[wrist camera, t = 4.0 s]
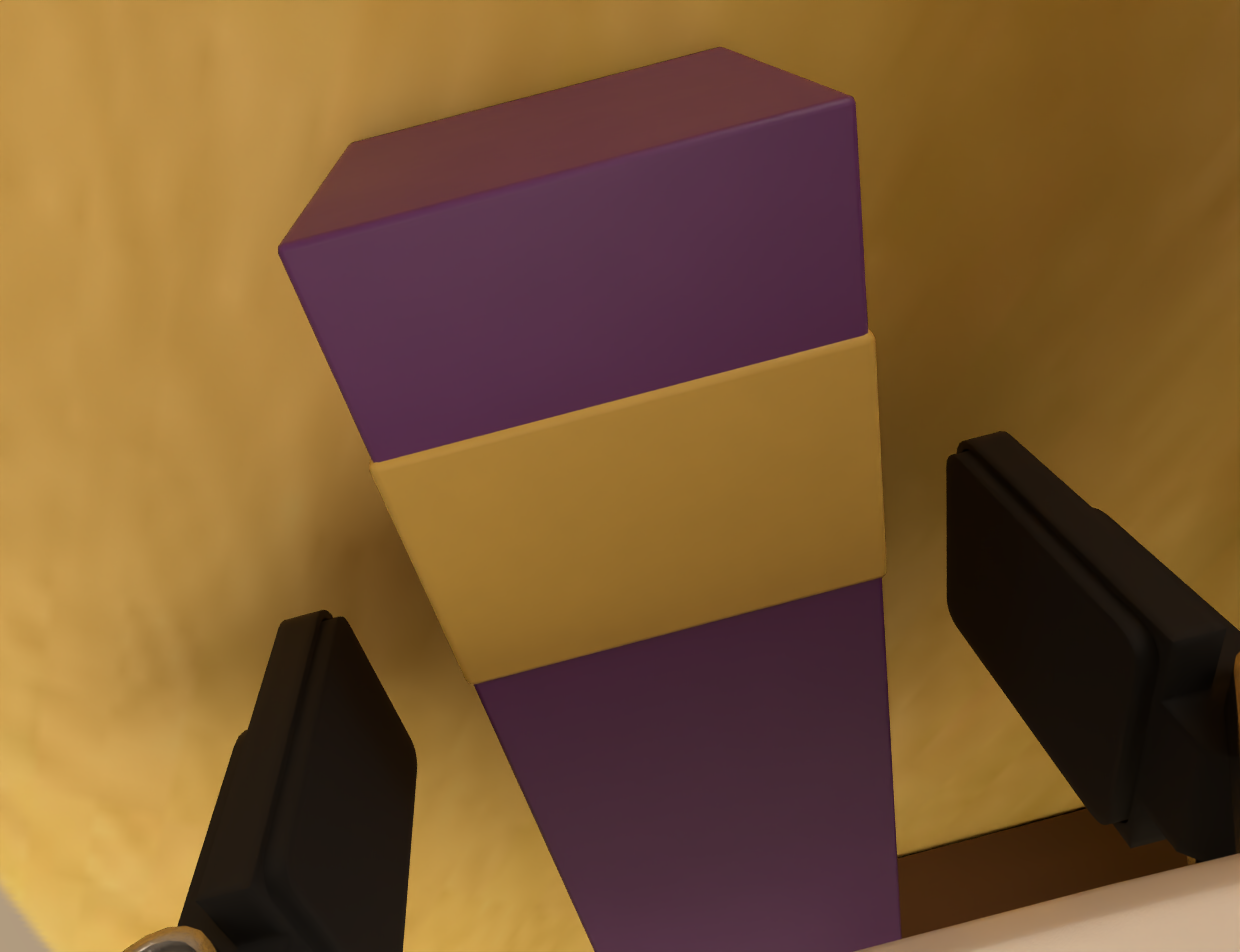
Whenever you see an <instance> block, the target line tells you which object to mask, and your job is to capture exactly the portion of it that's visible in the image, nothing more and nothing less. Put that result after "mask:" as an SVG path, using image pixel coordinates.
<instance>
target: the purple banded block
mask: <svg viewBox="0 0 1240 952" xmlns="http://www.w3.org/2000/svg"><path fill="white" fill-rule="evenodd" d="M278 254H279V256H280V259H281V261H282V263H283V265H284V267H285V270H286V272H287V274H288V276H289V278H290V281H291V283H292V285H293V287H294V289H295V292H296V294H297V296H298V298H299V300H300V303H301V305H302V307H303V309H304V311H305V314H306V316H307V318H308V320H309V323H310V325H311V327H312V329H313V331H314V334H315V336H316V338H317V340H318V342H319V345H320V347H321V349H322V351H323V353H324V356H325V358H326V360H327V362H328V364H329V367H330V369H331V371H332V373H333V375H334V378H335V380H336V382H337V384H338V386H339V389H340V391H341V393H342V395H343V398H344V400H345V402H346V404H347V406H348V409H349V411H350V413H351V415H352V417H353V420H354V422H355V424H356V426H357V428H358V431H359V433H360V435H361V437H362V439H363V442H364V444H365V446H366V448H367V450H368V453H369V455H370V457H371V460H370V470H369V471H370V473H371V475H372V477H373V479H374V481H375V484H376V486H377V488H378V490H379V492H380V495H381V497H382V499H383V501H384V503H385V505H386V508H387V510H388V512H389V514H390V516H391V519H392V521H393V523H394V525H395V527H396V529H397V532H398V534H399V536H400V538H401V540H402V542H403V545H404V547H405V549H406V551H407V553H408V556H409V558H410V560H411V562H412V564H413V566H414V569H415V571H416V573H417V575H418V577H419V580H420V582H421V584H422V586H423V588H424V590H425V593H426V595H427V597H428V599H429V601H430V603H431V606H432V608H433V610H434V612H435V614H436V617H437V619H438V621H439V623H440V625H441V627H442V630H443V632H444V634H445V636H446V638H447V641H448V643H449V645H450V647H451V649H452V651H453V654H454V656H455V658H456V660H457V662H458V664H459V667H460V669H461V671H462V673H463V675H464V678H465V679H466V681H467V682H468V683H469V684H474V686H475V689H476V691H477V693H478V695H479V698H480V700H481V702H482V704H483V706H484V709H485V711H486V713H487V715H488V717H489V720H490V722H491V724H492V726H493V728H494V731H495V733H496V735H497V737H498V739H499V742H500V744H501V746H502V748H503V750H504V753H505V755H506V757H507V759H508V761H509V764H510V766H511V768H512V770H513V773H514V775H515V777H516V779H517V781H518V784H519V786H520V788H521V790H522V792H523V795H524V797H525V799H526V801H527V803H528V806H529V808H530V810H531V812H532V814H533V817H534V819H535V821H536V823H537V825H538V828H539V830H540V832H541V834H542V836H543V839H544V841H545V843H546V845H547V848H548V850H549V852H550V854H551V856H552V859H553V861H554V863H555V865H556V867H557V870H558V872H559V874H560V876H561V878H562V881H563V883H564V885H565V887H566V889H567V892H568V894H569V896H570V898H571V900H572V903H573V905H574V907H575V909H576V911H577V914H578V916H579V918H580V920H581V922H582V925H583V927H584V929H585V931H586V934H587V936H588V938H589V940H590V942H591V945H592V947H593V949H594V951H595V952H854V951H858V950H862V949H866V948H870V947H873V946H877V945H881V944H885V943H888V942H892V941H896V940H900V939H902V937H901V918H900V900H899V882H898V864H897V846H896V827H895V809H894V791H893V773H892V755H891V737H890V718H889V700H888V682H887V664H886V646H885V627H884V609H883V591H882V576H884V575H885V574H886V572H887V563H886V543H885V524H884V504H883V484H882V464H881V444H880V424H879V404H878V384H877V364H876V344H875V337H874V335H873V333H872V332H871V331H870V330H869V329H868V318H867V300H866V282H865V264H864V246H863V227H862V209H861V191H860V173H859V155H858V136H857V118H856V102H855V100H854V98H853V97H852V96H850V95H847V94H844V93H842V92H839V91H836V90H834V89H831V88H829V87H826V86H823V85H821V84H818V83H815V82H813V81H810V80H807V79H805V78H802V77H800V76H797V75H794V74H792V73H789V72H786V71H784V70H781V69H778V68H776V67H773V66H771V65H768V64H765V63H763V62H760V61H757V60H755V59H752V58H749V57H747V56H744V55H742V54H739V53H736V52H734V51H731V50H728V49H726V48H722V47H717V48H714V49H710V50H706V51H702V52H698V53H694V54H691V55H687V56H683V57H679V58H675V59H671V60H668V61H664V62H660V63H656V64H652V65H648V66H645V67H641V68H637V69H633V70H629V71H625V72H622V73H618V74H614V75H610V76H606V77H602V78H599V79H595V80H591V81H587V82H583V83H579V84H576V85H572V86H568V87H564V88H560V89H556V90H553V91H549V92H545V93H541V94H537V95H533V96H530V97H526V98H522V99H518V100H514V101H510V102H507V103H503V104H499V105H495V106H491V107H487V108H484V109H480V110H476V111H472V112H468V113H464V114H461V115H457V116H453V117H449V118H445V119H441V120H438V121H434V122H430V123H426V124H422V125H418V126H415V127H411V128H407V129H403V130H399V131H395V132H392V133H388V134H384V135H380V136H376V137H372V138H369V139H365V140H361V141H357V142H353V143H351V144H350V145H349V146H348V147H347V148H346V150H345V151H344V153H343V154H342V156H341V157H340V158H339V160H338V161H337V163H336V164H335V166H334V167H333V169H332V170H331V171H330V173H329V174H328V176H327V177H326V179H325V180H324V181H323V183H322V184H321V186H320V187H319V189H318V190H317V192H316V193H315V194H314V196H313V197H312V199H311V200H310V202H309V203H308V204H307V206H306V207H305V209H304V210H303V212H302V213H301V215H300V216H299V217H298V219H297V220H296V222H295V223H294V225H293V226H292V227H291V229H290V230H289V232H288V233H287V235H286V236H285V237H284V239H283V240H282V242H281V243H280V245H279V246H278Z"/></svg>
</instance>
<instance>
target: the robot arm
mask: <svg viewBox="0 0 1240 952" xmlns="http://www.w3.org/2000/svg"><path fill="white" fill-rule="evenodd" d="M946 506H947V605H948V609H949V612H950V615H951V617H952V620H953V622H954V623H955V625H956V627H957V628H958V629H959V631H960V632H961V634H962V635H963V636H964V638H965V639H966V641H967V642H968V643H969V645H970V646H971V647H972V649H973V650H974V652H975V653H976V654H977V656H978V657H979V659H980V660H981V661H982V663H983V664H984V666H985V667H986V668H987V670H988V671H989V673H990V674H991V675H992V677H993V678H994V680H995V681H996V682H997V684H998V685H999V687H1000V688H1001V689H1002V691H1003V692H1004V694H1005V695H1006V696H1007V698H1008V699H1009V700H1010V702H1011V703H1012V705H1013V706H1014V707H1015V709H1016V710H1017V712H1018V713H1019V714H1020V716H1021V717H1022V719H1023V720H1024V721H1025V723H1026V724H1027V726H1028V727H1029V728H1030V730H1031V731H1032V733H1033V734H1034V735H1035V737H1036V738H1037V740H1038V741H1039V742H1040V744H1041V745H1042V747H1043V748H1044V749H1045V751H1046V752H1047V753H1048V755H1049V756H1050V758H1051V759H1052V760H1053V762H1054V763H1055V765H1056V766H1057V767H1058V769H1059V770H1060V772H1061V773H1062V774H1063V776H1064V777H1065V779H1066V780H1067V781H1068V783H1069V784H1070V786H1071V787H1072V788H1073V790H1074V791H1075V793H1076V794H1077V795H1078V797H1079V798H1080V799H1081V801H1082V802H1083V804H1084V805H1085V806H1086V808H1087V809H1088V811H1089V812H1090V813H1091V815H1092V816H1093V817H1094V818H1095V819H1096V820H1097V821H1098V822H1099V823H1100V824H1103V825H1108V824H1113V825H1114V827H1115V828H1116V829H1117V831H1118V832H1119V833H1120V835H1121V836H1122V837H1123V839H1124V840H1125V841H1126V843H1127V844H1128V846H1129V847H1130V848H1135V847H1139V846H1142V845H1146V844H1150V843H1154V842H1157V841H1161V840H1165V839H1167V840H1168V841H1169V843H1170V844H1171V845H1172V847H1173V848H1174V849H1175V850H1176V852H1179V853H1181V854H1184V855H1186V856H1187V865H1188V866H1185V867H1181V868H1176V869H1172V870H1168V871H1164V872H1160V873H1156V874H1152V875H1148V876H1143V877H1139V878H1135V879H1131V880H1127V881H1123V882H1119V883H1114V884H1110V885H1106V886H1103V887H1099V888H1095V889H1091V890H1087V891H1083V892H1080V893H1076V894H1072V895H1068V896H1064V897H1060V898H1057V899H1053V900H1049V901H1045V902H1041V903H1037V904H1034V905H1030V906H1026V907H1022V908H1018V909H1014V910H1011V911H1007V912H1003V913H999V914H995V915H991V916H988V917H984V918H980V919H976V920H972V921H969V922H965V923H961V924H957V925H953V926H949V927H946V928H942V929H938V930H934V931H930V932H926V933H923V934H919V935H915V936H911V937H907V938H903V939H900V940H896V941H892V942H888V943H885V944H881V945H877V946H873V947H870V948H866V949H862V950H858V951H854V952H1240V631H1239V630H1238V629H1236V628H1235V627H1234V626H1233V625H1232V624H1231V623H1230V622H1228V621H1227V620H1226V619H1225V618H1224V617H1223V616H1222V615H1220V614H1219V613H1218V612H1217V611H1216V610H1215V609H1214V608H1213V607H1211V606H1210V605H1209V604H1208V603H1207V602H1206V601H1205V600H1203V599H1202V598H1201V597H1200V596H1199V595H1198V594H1197V593H1196V592H1194V591H1193V590H1192V589H1191V588H1190V587H1189V586H1188V585H1186V584H1185V583H1184V582H1183V581H1182V580H1181V579H1180V578H1178V577H1177V576H1176V575H1175V574H1174V573H1173V572H1172V571H1171V570H1169V569H1168V568H1167V567H1166V566H1165V565H1164V564H1163V563H1161V562H1160V561H1159V560H1158V559H1157V558H1156V557H1155V556H1153V555H1152V554H1151V553H1150V552H1149V551H1148V550H1147V549H1146V548H1144V547H1143V546H1142V545H1141V544H1140V543H1139V542H1138V541H1136V540H1135V539H1134V538H1133V537H1132V536H1131V535H1130V534H1129V533H1127V532H1126V531H1125V530H1124V529H1123V528H1122V527H1121V526H1119V525H1118V524H1117V523H1116V522H1115V521H1114V520H1113V519H1111V518H1110V517H1109V516H1108V515H1107V514H1105V513H1104V512H1102V511H1101V510H1099V509H1096V508H1092V507H1091V506H1090V505H1088V504H1087V503H1086V502H1085V501H1084V500H1083V499H1082V498H1081V497H1080V496H1078V495H1077V494H1076V493H1075V492H1074V491H1073V490H1072V489H1071V488H1069V487H1068V486H1067V485H1066V484H1065V483H1064V482H1063V481H1062V480H1060V479H1059V478H1058V477H1057V476H1056V475H1055V474H1054V473H1053V472H1051V471H1050V470H1049V469H1048V468H1047V467H1046V466H1045V465H1044V464H1042V463H1041V462H1040V461H1039V460H1038V459H1037V458H1036V457H1035V456H1033V455H1032V454H1031V453H1030V452H1029V451H1028V450H1027V449H1026V448H1025V447H1023V446H1022V445H1021V444H1020V443H1019V442H1018V441H1017V440H1016V439H1014V438H1013V437H1012V436H1011V435H1010V434H1008V433H1007V432H1003V431H999V432H996V433H992V434H988V435H984V436H981V437H977V438H973V439H969V440H965V441H962V442H961V443H960V444H959V446H958V448H957V454H954V455H951V456H949V457H948V459H947V465H946ZM416 777H417V757H416V752H415V748H414V745H413V742H412V740H411V738H410V736H409V735H408V733H407V731H406V729H405V727H404V725H403V723H402V722H401V720H400V718H399V716H398V714H397V712H396V710H395V708H394V707H393V705H392V703H391V701H390V699H389V697H388V695H387V694H386V692H385V690H384V688H383V686H382V684H381V682H380V681H379V679H378V677H377V675H376V673H375V671H374V669H373V668H372V666H371V664H370V662H369V660H368V658H367V656H366V655H365V653H364V651H363V649H362V647H361V645H360V643H359V641H358V640H357V638H356V636H355V634H354V632H353V630H352V628H351V627H350V625H349V623H348V622H347V620H346V619H345V618H344V617H341V616H340V617H336V618H333V617H332V615H331V614H330V613H329V612H328V611H326V610H321V611H317V612H314V613H310V614H306V615H302V616H298V617H295V618H291V619H287V620H284V621H283V622H282V623H281V624H280V626H279V628H278V632H277V635H276V638H275V642H274V645H273V648H272V651H271V655H270V658H269V661H268V665H267V668H266V671H265V675H264V678H263V681H262V684H261V688H260V691H259V694H258V698H257V701H256V704H255V707H254V711H253V714H252V717H251V721H250V724H249V727H248V730H245V731H244V732H243V733H242V734H241V735H240V736H239V737H238V739H237V741H236V743H235V746H234V748H233V751H232V755H231V758H230V761H229V764H228V767H227V770H226V774H225V777H224V780H223V783H222V786H221V789H220V793H219V796H218V799H217V802H216V805H215V809H214V812H213V815H212V818H211V821H210V824H209V828H208V831H207V834H206V837H205V840H204V843H203V847H202V850H201V853H200V856H199V859H198V863H197V866H196V869H195V872H194V875H193V878H192V882H191V885H190V888H189V891H188V894H187V897H186V901H185V904H184V907H183V910H182V913H181V917H180V920H179V923H178V926H177V927H167V928H165V929H162V930H160V931H157V932H154V933H152V934H149V935H147V936H145V937H143V938H142V939H140V940H139V941H137V942H136V943H134V944H133V945H131V946H130V947H128V948H126V949H125V950H124V951H123V952H403V941H404V929H405V916H406V903H407V891H408V878H409V865H410V853H411V840H412V827H413V815H414V802H415V789H416Z"/></svg>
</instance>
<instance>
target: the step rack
mask: <svg viewBox="0 0 1240 952" xmlns="http://www.w3.org/2000/svg"><path fill="white" fill-rule="evenodd" d="M897 864H898V882H899V900H900V918H901V937H902V939H903V938H907V937H911V936H915V935H919V934H923V933H926V932H930V931H934V930H938V929H942V928H946V927H949V926H953V925H957V924H961V923H965V922H969V921H972V920H976V919H980V918H984V917H988V916H991V915H995V914H999V913H1003V912H1007V911H1011V910H1014V909H1018V908H1022V907H1026V906H1030V905H1034V904H1037V903H1041V902H1045V901H1049V900H1053V899H1057V898H1060V897H1064V896H1068V895H1072V894H1076V893H1080V892H1083V891H1087V890H1091V889H1095V888H1099V887H1103V886H1106V885H1110V884H1114V883H1119V882H1123V881H1127V880H1131V879H1135V878H1139V877H1143V876H1148V875H1152V874H1156V873H1160V872H1164V871H1168V870H1172V869H1176V868H1181V867H1185V866H1188V865H1187V856H1186V855H1184V854H1181V853H1179V852H1176V850H1175V849H1174V848H1173V847H1172V845H1171V844H1170V843H1169V841H1168V840H1167V839H1165V840H1161V841H1157V842H1154V843H1150V844H1146V845H1142V846H1139V847H1135V848H1130V847H1129V846H1128V844H1127V843H1126V841H1125V840H1124V839H1123V837H1122V836H1121V835H1120V833H1119V832H1118V831H1117V829H1116V828H1115V827H1114V825H1113V824H1108V825H1103V824H1100V823H1099V822H1098V821H1097V820H1096V819H1095V818H1094V817H1093V816H1092V815H1091V813H1090V812H1089V811H1088V809H1083V810H1079V811H1075V812H1072V813H1068V814H1064V815H1060V816H1056V817H1053V818H1049V819H1045V820H1041V821H1037V822H1034V823H1030V824H1026V825H1022V826H1019V827H1015V828H1011V829H1007V830H1003V831H1000V832H996V833H992V834H988V835H985V836H981V837H977V838H973V839H969V840H966V841H962V842H958V843H954V844H950V845H947V846H943V847H939V848H935V849H932V850H928V851H924V852H920V853H916V854H913V855H909V856H905V857H901V858H897Z"/></svg>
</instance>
